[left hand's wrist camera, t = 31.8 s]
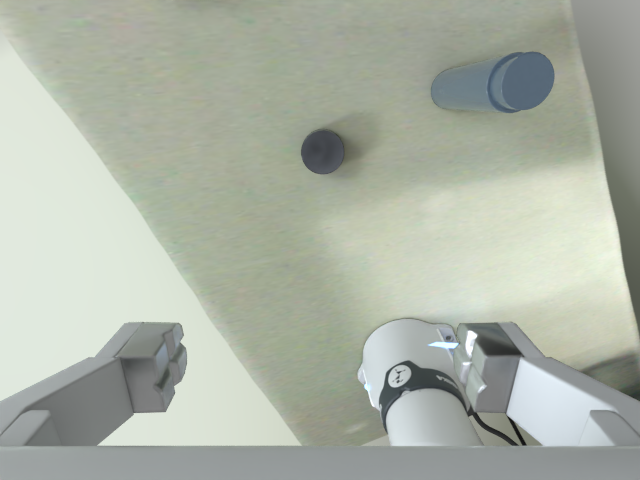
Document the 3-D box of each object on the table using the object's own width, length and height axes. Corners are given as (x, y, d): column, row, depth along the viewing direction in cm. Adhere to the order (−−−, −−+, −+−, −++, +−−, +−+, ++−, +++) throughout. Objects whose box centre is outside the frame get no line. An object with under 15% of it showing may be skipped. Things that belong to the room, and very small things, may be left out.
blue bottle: (472, 100, 48) (562, 100, 30) (436, 115, 49) (504, 123, 31) (463, 62, 47) (553, 38, 29) (426, 78, 47) (491, 64, 29)
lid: (317, 120, 49) (317, 121, 47) (351, 145, 51) (352, 147, 48) (294, 155, 51) (292, 157, 49) (327, 178, 52) (327, 182, 50)
